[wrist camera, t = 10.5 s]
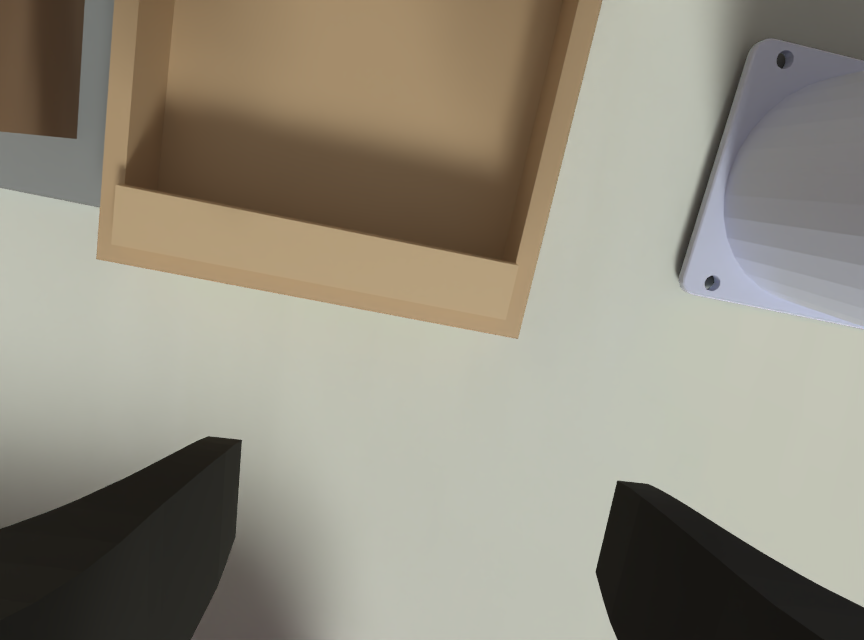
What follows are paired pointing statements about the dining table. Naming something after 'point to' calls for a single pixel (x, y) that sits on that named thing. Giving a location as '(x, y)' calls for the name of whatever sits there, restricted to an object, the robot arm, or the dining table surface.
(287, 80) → the shallow wooden tray
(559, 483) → the dining table surface
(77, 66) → the box
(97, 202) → the mat
